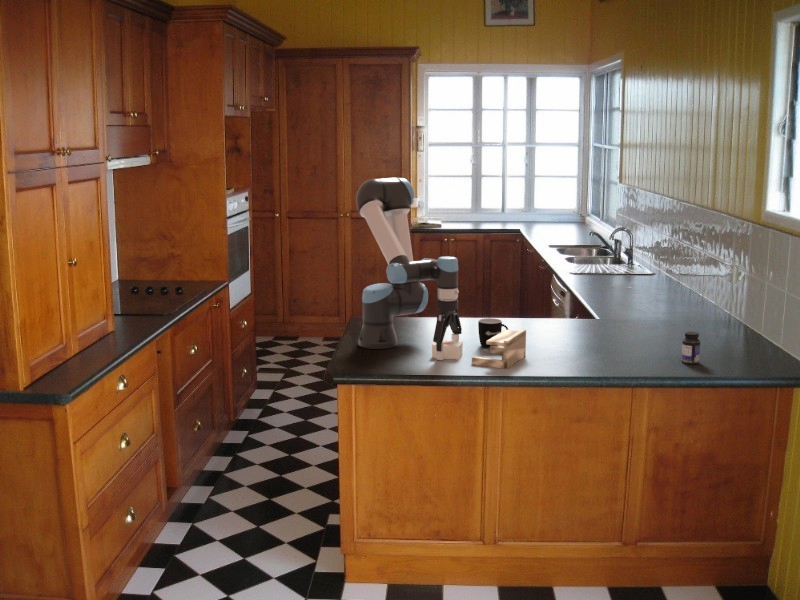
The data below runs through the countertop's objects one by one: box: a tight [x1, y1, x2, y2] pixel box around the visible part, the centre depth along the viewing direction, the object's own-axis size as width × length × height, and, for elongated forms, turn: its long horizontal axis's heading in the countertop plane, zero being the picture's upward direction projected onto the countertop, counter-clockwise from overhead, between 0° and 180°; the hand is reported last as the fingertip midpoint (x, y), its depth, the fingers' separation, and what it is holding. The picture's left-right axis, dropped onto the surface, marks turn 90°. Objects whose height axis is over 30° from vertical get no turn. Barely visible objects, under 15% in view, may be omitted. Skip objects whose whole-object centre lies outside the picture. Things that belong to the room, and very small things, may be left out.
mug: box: [477, 317, 509, 349], centre depth 341 cm, size 12×9×10 cm
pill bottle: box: [681, 330, 701, 365], centre depth 316 cm, size 6×6×11 cm
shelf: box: [471, 328, 527, 370], centre depth 321 cm, size 14×19×10 cm
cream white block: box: [431, 340, 464, 360], centre depth 327 cm, size 10×7×6 cm
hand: (447, 355), depth 328 cm, fingers open, 13 cm apart
